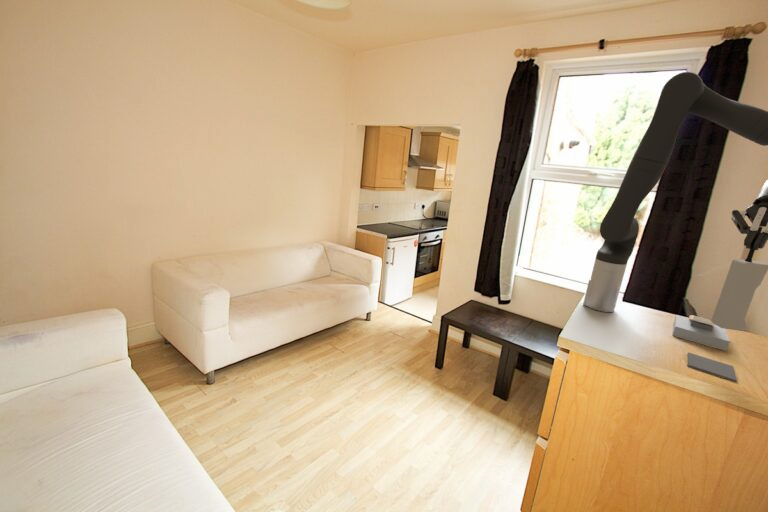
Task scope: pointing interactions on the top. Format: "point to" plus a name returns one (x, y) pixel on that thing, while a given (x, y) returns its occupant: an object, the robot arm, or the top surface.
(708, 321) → the block
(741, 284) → the vintage mobile phone
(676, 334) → the block
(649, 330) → the top surface
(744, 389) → the top surface
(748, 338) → the top surface
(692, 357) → the rubber mat
